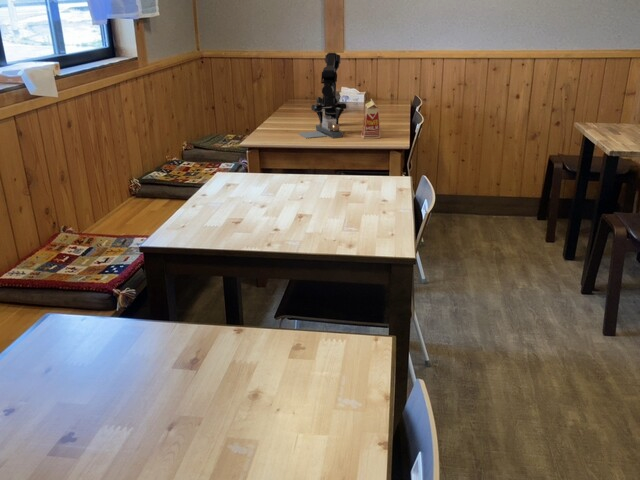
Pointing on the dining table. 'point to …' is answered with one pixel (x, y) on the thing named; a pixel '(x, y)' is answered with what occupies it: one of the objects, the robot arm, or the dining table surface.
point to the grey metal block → (328, 121)
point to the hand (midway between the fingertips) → (329, 122)
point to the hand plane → (330, 131)
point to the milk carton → (371, 121)
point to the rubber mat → (312, 134)
